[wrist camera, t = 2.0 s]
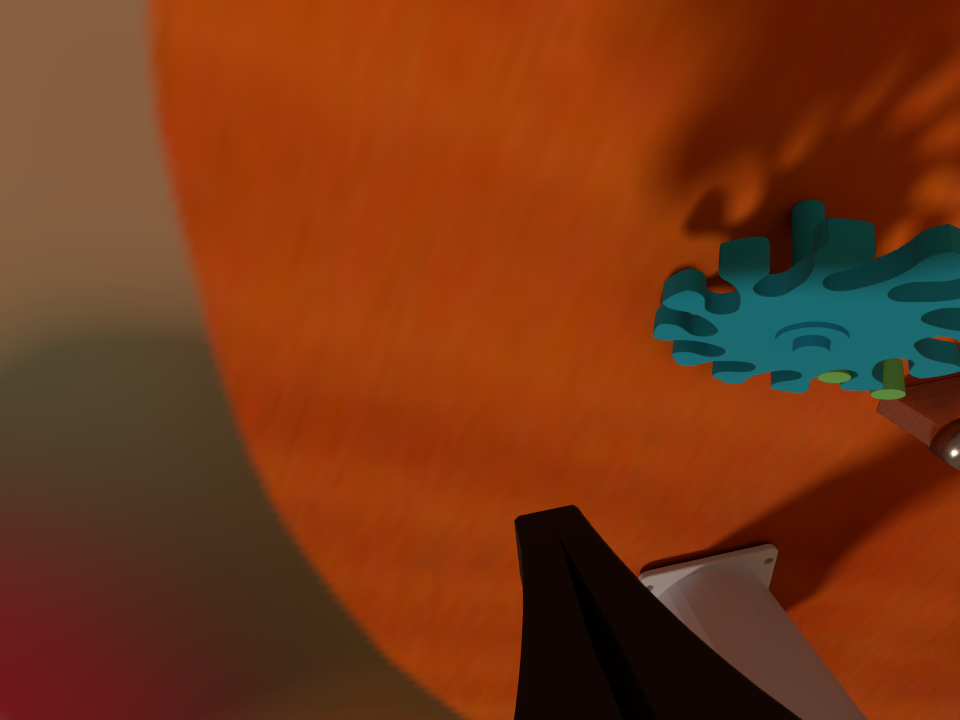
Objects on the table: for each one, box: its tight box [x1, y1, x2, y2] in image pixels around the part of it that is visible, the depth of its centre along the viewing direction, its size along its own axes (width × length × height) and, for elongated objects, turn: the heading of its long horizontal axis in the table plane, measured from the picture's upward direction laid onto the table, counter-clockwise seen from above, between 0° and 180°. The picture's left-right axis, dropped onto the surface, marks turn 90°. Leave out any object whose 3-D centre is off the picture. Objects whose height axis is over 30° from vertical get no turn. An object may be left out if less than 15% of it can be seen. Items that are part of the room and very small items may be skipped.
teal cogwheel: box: [653, 200, 960, 400], centre depth 18 cm, size 11×6×10 cm
